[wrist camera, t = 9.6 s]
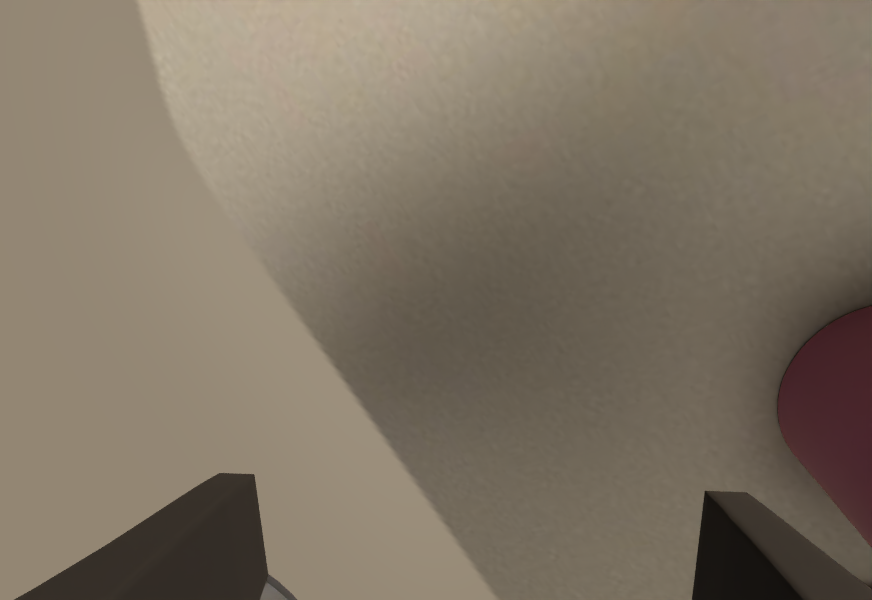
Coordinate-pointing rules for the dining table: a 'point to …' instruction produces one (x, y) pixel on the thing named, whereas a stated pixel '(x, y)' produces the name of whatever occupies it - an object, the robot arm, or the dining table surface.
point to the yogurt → (834, 414)
